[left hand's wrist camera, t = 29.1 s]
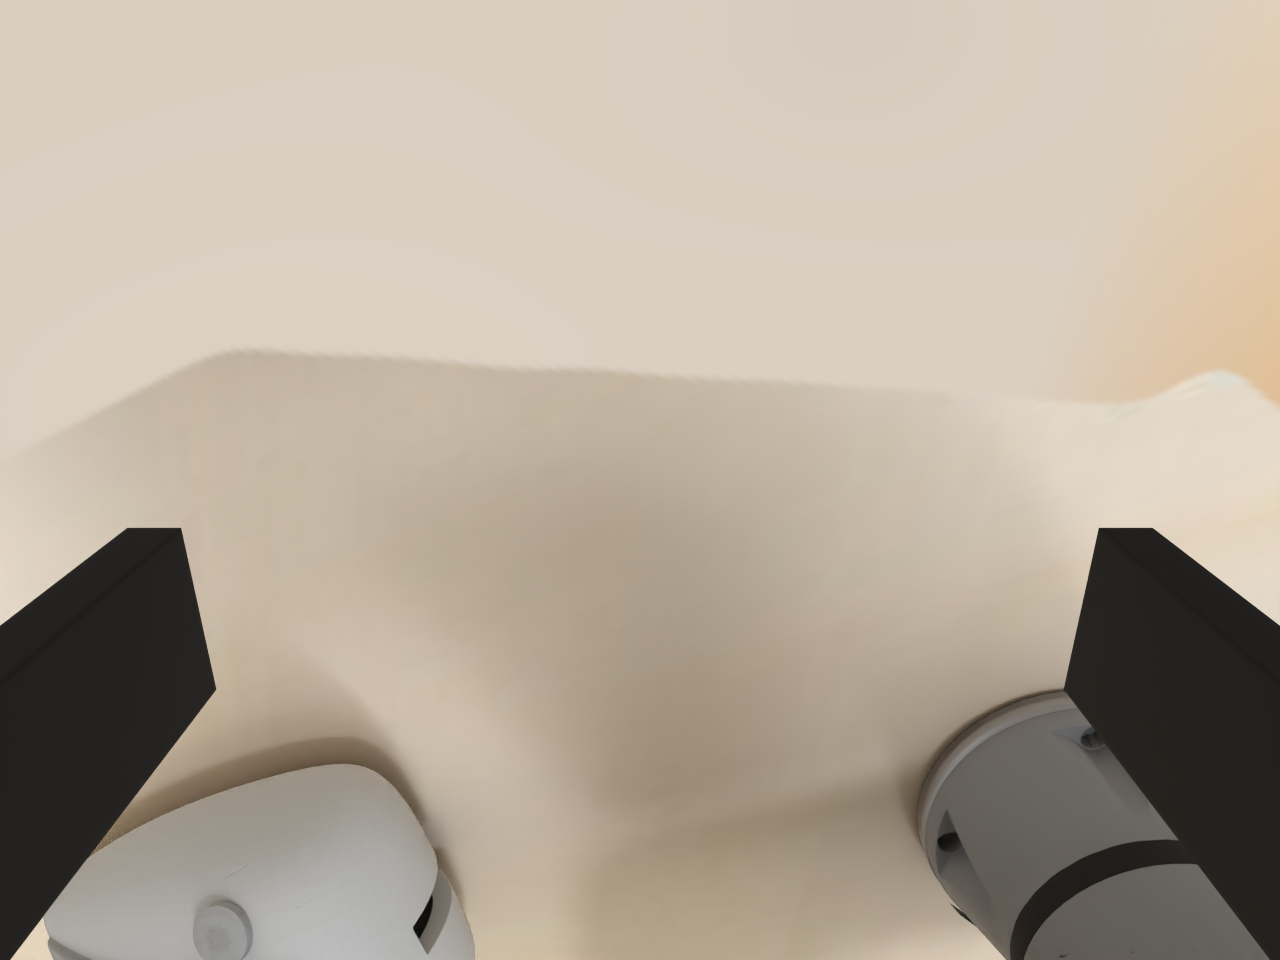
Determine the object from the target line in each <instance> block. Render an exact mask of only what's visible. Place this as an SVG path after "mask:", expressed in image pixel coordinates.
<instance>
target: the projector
mask: <svg viewBox="0 0 1280 960" xmlns="http://www.w3.org/2000/svg"><path fill="white" fill-rule="evenodd" d="M43 918H44V923H45V927H46V930H47V932H48V935H49V937H50V938H49V940H48V947H49V950H50V952H51V955H52V957H53V959H54V960H475V947H474V941H473V936H472V932H471V929H470V926H469V923H468V920H467V918H466V915H465V913H464V911H463V908H462V906H461V904H460V902H459V900H458V897H457V895H456V893H455V891H454V889H453V887H452V885H451V883H450V881H449V879H448V878H447V876H446V875H445V874H444V872H443V871H442V870H441V869H439V868H438V865H437V858H436V854H435V852H434V850H433V848H432V846H431V844H430V842H429V840H428V838H427V836H426V834H425V833H424V831H423V829H422V827H421V825H420V824H419V822H418V820H417V818H416V817H415V815H414V813H413V812H412V810H411V808H410V807H409V805H408V804H407V802H406V801H405V800H404V798H403V797H402V796H401V795H400V793H399V792H398V791H397V790H396V789H395V787H394V786H393V785H392V784H391V783H390V782H389V781H388V780H386V779H385V778H384V777H382V776H381V775H380V774H378V773H377V772H375V771H373V770H371V769H369V768H366V767H363V766H359V765H353V764H329V765H322V766H316V767H309V768H305V769H300V770H295V771H291V772H287V773H283V774H279V775H275V776H272V777H268V778H264V779H260V780H257V781H254V782H250V783H247V784H244V785H240V786H237V787H234V788H231V789H228V790H225V791H222V792H219V793H216V794H214V795H211V796H208V797H205V798H202V799H200V800H197V801H195V802H192V803H190V804H187V805H185V806H182V807H180V808H177V809H175V810H173V811H171V812H169V813H166V814H164V815H162V816H160V817H157V818H155V819H153V820H151V821H149V822H147V823H145V824H143V825H141V826H139V827H137V828H136V829H134V830H132V831H130V832H129V833H127V834H125V835H123V836H122V837H120V838H118V839H116V840H115V841H113V842H111V843H110V844H108V845H107V846H105V847H103V848H102V849H100V850H99V851H97V852H96V853H94V854H93V855H92V856H90V857H89V858H88V859H87V860H86V861H85V862H84V864H83V865H82V866H81V868H80V869H79V870H78V871H77V873H76V874H75V875H74V877H73V878H72V879H71V881H70V882H69V883H68V885H67V886H66V887H65V888H64V890H63V891H62V892H61V894H60V895H59V896H58V898H57V899H56V900H55V902H54V903H53V904H52V906H51V907H50V908H49V909H48V911H47V912H46V913H45V915H44V917H43Z"/></svg>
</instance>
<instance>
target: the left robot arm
mask: <svg viewBox="0 0 1280 960" xmlns="http://www.w3.org/2000/svg"><path fill="white" fill-rule="evenodd" d="M215 691H216V686H215V682H214V677H213V672H212V668H211V663H210V659H209V654H208V649H207V645H206V640H205V636H204V631H203V627H202V622H201V617H200V613H199V608H198V604H197V599H196V594H195V590H194V585H193V581H192V576H191V572H190V567H189V562H188V558H187V553H186V549H185V544H184V539H183V535H182V530H181V528H127V529H125V530H124V531H123V532H122V533H120V534H119V535H118V536H116V537H115V538H114V539H112V540H111V541H110V542H109V543H107V544H106V545H105V546H103V547H102V548H101V549H99V550H98V551H97V552H96V553H94V554H93V555H92V556H90V557H89V558H88V559H86V560H85V561H84V562H83V563H81V564H80V565H79V566H77V567H76V568H75V569H73V570H72V571H71V572H70V573H68V574H67V575H66V576H64V577H63V578H62V579H60V580H59V581H58V582H57V583H55V584H54V585H53V586H51V587H50V588H49V589H47V590H46V591H45V592H44V593H42V594H41V595H40V596H38V597H37V598H36V599H34V600H33V601H32V602H31V603H29V604H28V605H27V606H25V607H24V608H23V609H21V610H20V611H19V612H17V613H16V614H15V615H14V616H12V617H11V618H10V619H8V620H7V621H6V622H4V623H3V624H2V625H1V626H0V960H10V959H11V958H12V957H13V955H14V954H15V953H16V951H17V950H18V949H19V947H20V946H21V945H22V944H23V942H24V941H25V940H26V938H27V937H28V936H29V934H30V933H31V932H32V930H33V929H34V928H35V926H36V925H37V924H38V923H39V921H40V920H41V919H42V917H43V916H44V915H45V913H46V912H47V911H48V909H49V908H50V907H51V906H52V904H53V903H54V902H55V900H56V899H57V898H58V896H59V895H60V894H61V892H62V891H63V890H64V888H65V887H66V886H67V885H68V883H69V882H70V881H71V879H72V878H73V877H74V875H75V874H76V873H77V871H78V870H79V869H80V868H81V866H82V865H83V864H84V862H85V861H86V860H87V858H88V857H89V856H90V854H91V853H92V852H93V850H94V849H95V848H96V847H97V845H98V844H99V843H100V841H101V840H102V839H103V837H104V836H105V835H106V833H107V832H108V831H109V829H110V828H111V827H112V826H113V824H114V823H115V822H116V820H117V819H118V818H119V816H120V815H121V814H122V812H123V811H124V810H125V809H126V807H127V806H128V805H129V803H130V802H131V801H132V799H133V798H134V797H135V795H136V794H137V793H138V791H139V790H140V789H141V788H142V786H143V785H144V784H145V782H146V781H147V780H148V778H149V777H150V776H151V774H152V773H153V772H154V770H155V769H156V768H157V767H158V765H159V764H160V763H161V761H162V760H163V759H164V757H165V756H166V755H167V753H168V752H169V751H170V750H171V748H172V747H173V746H174V744H175V743H176V742H177V740H178V739H179V738H180V736H181V735H182V734H183V732H184V731H185V730H186V729H187V727H188V726H189V725H190V723H191V722H192V721H193V719H194V718H195V717H196V715H197V714H198V713H199V712H200V710H201V709H202V708H203V706H204V705H205V704H206V702H207V701H208V700H209V698H210V697H211V696H212V694H213V693H214V692H215ZM917 823H918V832H919V836H920V840H921V843H922V846H923V848H924V851H925V853H926V856H927V858H928V861H929V864H930V866H931V868H932V870H933V872H934V874H935V876H936V878H937V879H938V880H939V882H940V884H941V885H942V887H943V888H944V890H945V891H946V893H947V894H948V895H949V897H950V898H951V899H952V900H953V901H954V902H955V903H956V905H957V906H958V907H959V908H960V909H961V910H962V911H963V912H964V913H965V914H964V913H963V912H962V911H960V910H959V909H957V908H956V907H955V906H953V905H952V904H951V905H952V906H953V907H954V908H955V910H956V911H957V912H958V913H959V914H960V915H961V916H962V917H964V918H965V919H967V920H968V921H969V922H971V923H972V924H974V925H975V926H976V927H977V928H978V929H979V930H980V931H981V932H982V933H983V934H984V936H985V937H986V938H987V939H988V940H989V941H990V942H991V943H992V944H993V946H994V947H995V948H996V949H997V950H998V951H999V952H1000V953H1001V954H1002V956H1003V957H1004V958H1005V959H1006V960H1280V626H1279V625H1278V624H1277V623H1276V622H1274V621H1273V620H1272V619H1270V618H1269V617H1268V616H1266V615H1265V614H1264V613H1262V612H1261V611H1260V610H1259V609H1257V608H1256V607H1255V606H1253V605H1252V604H1251V603H1249V602H1248V601H1247V600H1246V599H1244V598H1243V597H1242V596H1240V595H1239V594H1238V593H1236V592H1235V591H1234V590H1233V589H1231V588H1230V587H1229V586H1227V585H1226V584H1225V583H1223V582H1222V581H1221V580H1220V579H1218V578H1217V577H1216V576H1214V575H1213V574H1212V573H1210V572H1209V571H1208V570H1207V569H1205V568H1204V567H1203V566H1201V565H1200V564H1199V563H1197V562H1196V561H1195V560H1194V559H1192V558H1191V557H1190V556H1188V555H1187V554H1186V553H1184V552H1183V551H1182V550H1181V549H1179V548H1178V547H1177V546H1175V545H1174V544H1173V543H1171V542H1170V541H1169V540H1168V539H1166V538H1165V537H1164V536H1162V535H1161V534H1160V533H1158V532H1157V531H1156V530H1155V529H1153V528H1099V530H1098V535H1097V539H1096V544H1095V549H1094V553H1093V558H1092V562H1091V567H1090V571H1089V576H1088V581H1087V585H1086V590H1085V594H1084V599H1083V604H1082V608H1081V613H1080V617H1079V622H1078V627H1077V631H1076V636H1075V640H1074V645H1073V649H1072V654H1071V659H1070V663H1069V668H1068V672H1067V677H1066V682H1065V686H1064V692H1055V693H1049V694H1044V695H1039V696H1035V697H1031V698H1028V699H1025V700H1021V701H1018V702H1016V703H1013V704H1011V705H1008V706H1006V707H1003V708H1001V709H999V710H997V711H995V712H993V713H991V714H989V715H988V716H986V717H984V718H983V719H981V720H979V721H978V722H976V723H975V724H974V725H972V726H971V727H969V728H968V729H967V730H965V731H964V732H963V733H962V734H961V735H960V736H958V737H957V738H956V739H955V740H954V741H953V742H952V743H951V744H950V745H949V746H948V747H947V748H946V750H945V751H944V752H943V753H942V754H941V756H940V757H939V758H938V760H937V761H936V763H935V764H934V765H933V767H932V769H931V771H930V772H929V774H928V776H927V778H926V780H925V783H924V785H923V788H922V791H921V795H920V798H919V804H918V812H917Z"/></svg>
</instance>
